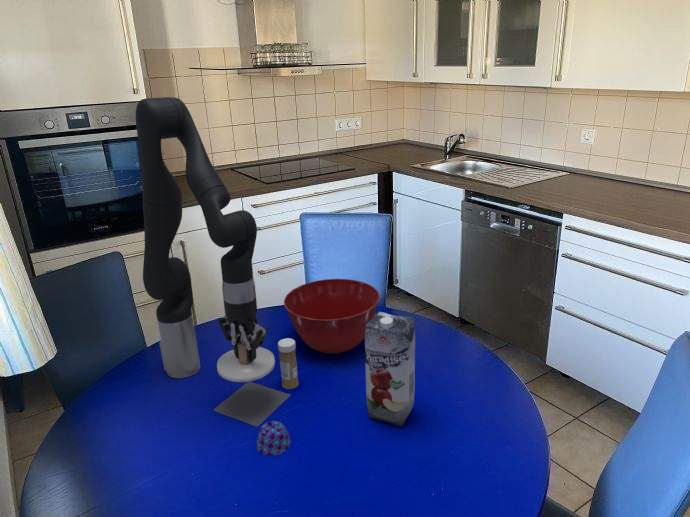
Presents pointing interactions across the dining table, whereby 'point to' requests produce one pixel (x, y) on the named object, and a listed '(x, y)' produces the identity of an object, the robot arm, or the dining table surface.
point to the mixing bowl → (332, 313)
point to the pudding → (273, 439)
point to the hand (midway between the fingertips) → (245, 358)
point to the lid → (245, 364)
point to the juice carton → (390, 367)
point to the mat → (252, 403)
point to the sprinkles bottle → (288, 363)
